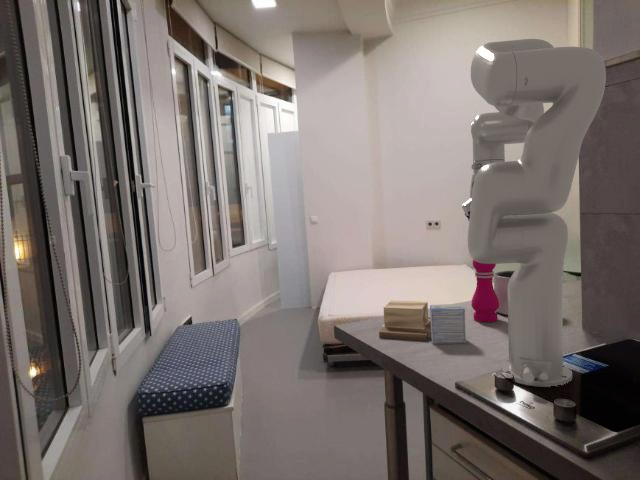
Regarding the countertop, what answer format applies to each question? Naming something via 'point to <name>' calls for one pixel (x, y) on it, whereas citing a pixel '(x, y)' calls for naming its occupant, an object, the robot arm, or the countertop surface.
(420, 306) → the oak block
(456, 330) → the medicine box
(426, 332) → the board
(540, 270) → the robot arm
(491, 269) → the pepper mill
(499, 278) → the planter
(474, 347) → the countertop surface
